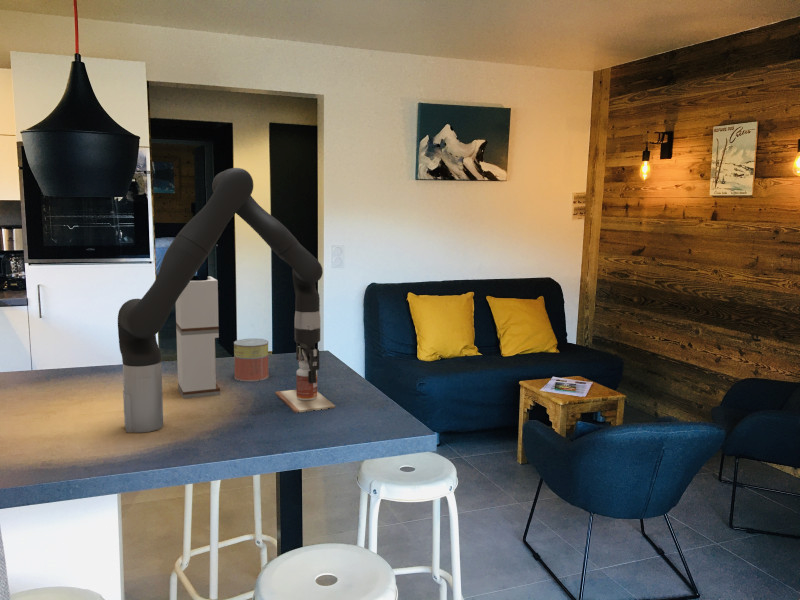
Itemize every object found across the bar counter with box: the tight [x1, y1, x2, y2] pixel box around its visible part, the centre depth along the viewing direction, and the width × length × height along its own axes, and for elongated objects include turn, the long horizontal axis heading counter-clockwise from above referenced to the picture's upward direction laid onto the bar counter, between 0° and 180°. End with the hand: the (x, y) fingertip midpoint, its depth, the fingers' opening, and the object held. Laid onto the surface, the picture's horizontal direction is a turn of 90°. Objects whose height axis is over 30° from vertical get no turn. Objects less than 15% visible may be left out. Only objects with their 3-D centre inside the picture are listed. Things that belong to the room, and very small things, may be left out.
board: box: [274, 389, 336, 414], centre depth 193 cm, size 12×20×1 cm, turn 26°
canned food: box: [233, 338, 270, 382], centre depth 217 cm, size 11×11×12 cm
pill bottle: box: [295, 360, 318, 401], centre depth 193 cm, size 6×6×11 cm
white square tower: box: [175, 275, 221, 400], centre depth 197 cm, size 11×11×35 cm
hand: (307, 379), depth 193 cm, fingers open, 8 cm apart
